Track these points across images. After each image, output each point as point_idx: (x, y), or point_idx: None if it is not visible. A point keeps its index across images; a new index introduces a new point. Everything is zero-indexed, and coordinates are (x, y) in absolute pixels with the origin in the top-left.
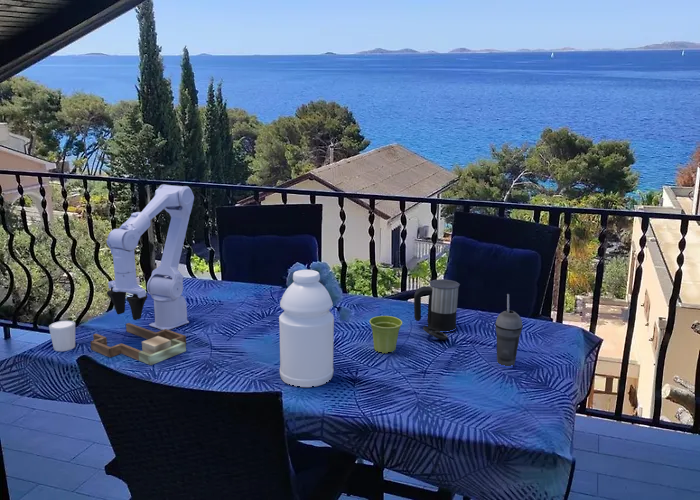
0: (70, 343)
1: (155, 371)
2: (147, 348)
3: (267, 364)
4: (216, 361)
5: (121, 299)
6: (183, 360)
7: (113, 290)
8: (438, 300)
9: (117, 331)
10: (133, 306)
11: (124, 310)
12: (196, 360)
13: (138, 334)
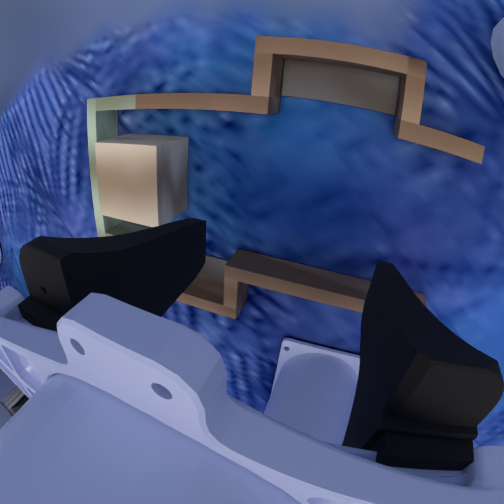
0: (500, 38)
1: (79, 83)
2: (140, 140)
3: (14, 243)
4: (46, 213)
5: (368, 371)
6: (81, 176)
7: (152, 327)
8: (10, 396)
9: (458, 281)
10: (95, 239)
11: (363, 314)
12: (66, 194)
13: (346, 278)
